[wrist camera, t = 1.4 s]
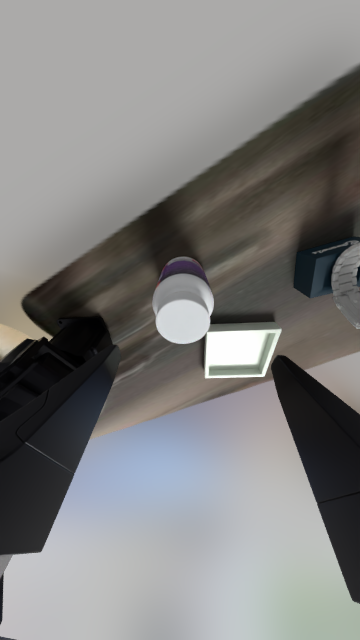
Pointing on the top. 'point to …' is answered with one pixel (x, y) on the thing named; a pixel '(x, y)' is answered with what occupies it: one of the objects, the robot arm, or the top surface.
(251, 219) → the top surface
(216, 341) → the tray
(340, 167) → the top surface
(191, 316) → the pill bottle
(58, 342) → the robot arm
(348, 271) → the watch
